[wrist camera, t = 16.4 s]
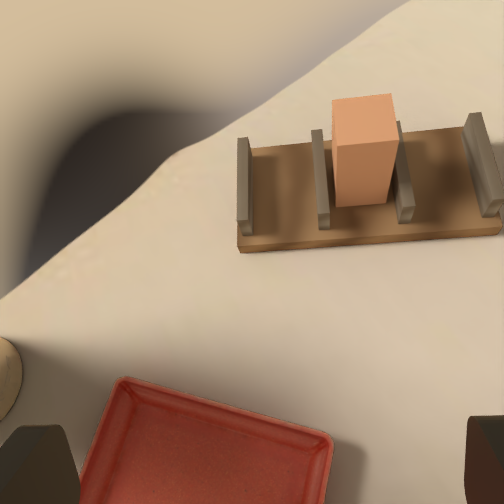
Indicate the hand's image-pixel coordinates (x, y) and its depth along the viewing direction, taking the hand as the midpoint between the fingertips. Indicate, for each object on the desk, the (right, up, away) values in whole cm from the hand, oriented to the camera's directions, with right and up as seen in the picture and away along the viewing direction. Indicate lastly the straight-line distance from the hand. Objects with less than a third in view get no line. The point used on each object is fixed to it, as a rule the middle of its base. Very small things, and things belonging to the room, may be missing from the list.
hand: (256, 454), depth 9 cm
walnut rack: (+10, +10, +35) cm, 37 cm away
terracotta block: (+10, +10, +33) cm, 36 cm away
